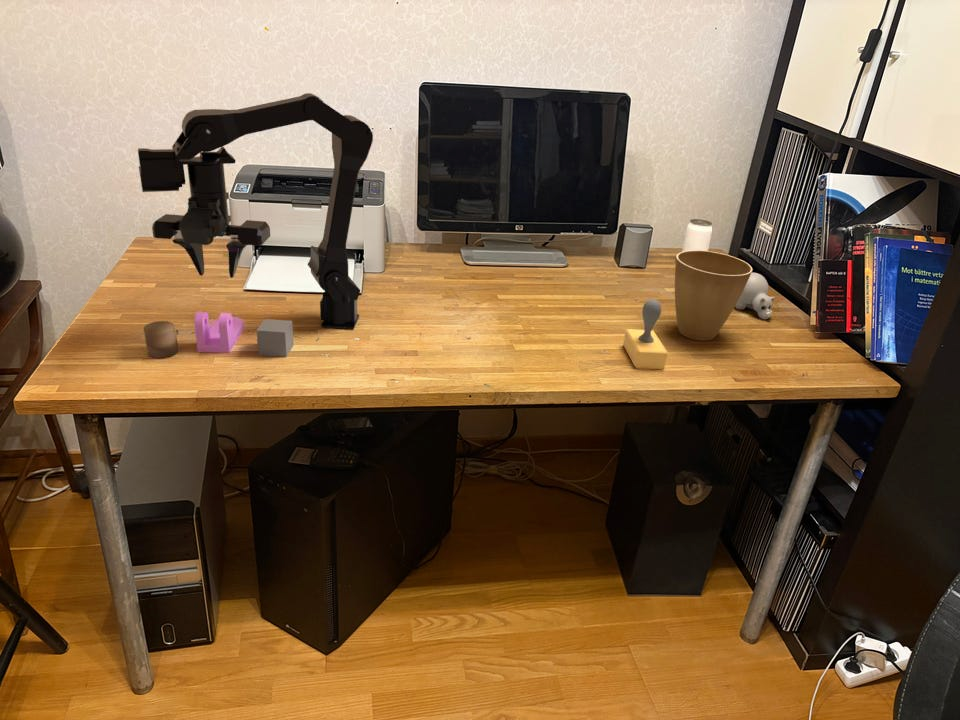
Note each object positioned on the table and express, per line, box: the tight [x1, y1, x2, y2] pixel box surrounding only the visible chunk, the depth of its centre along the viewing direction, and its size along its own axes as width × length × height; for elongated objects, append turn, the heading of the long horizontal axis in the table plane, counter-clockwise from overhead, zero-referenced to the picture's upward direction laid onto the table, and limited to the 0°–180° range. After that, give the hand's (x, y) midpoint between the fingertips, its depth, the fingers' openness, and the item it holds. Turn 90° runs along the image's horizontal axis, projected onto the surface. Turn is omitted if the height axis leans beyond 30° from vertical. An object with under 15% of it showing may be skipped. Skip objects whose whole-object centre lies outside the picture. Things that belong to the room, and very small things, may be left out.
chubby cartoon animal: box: [734, 272, 776, 320], centre depth 160 cm, size 7×12×8 cm, turn 18°
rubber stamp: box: [622, 299, 668, 370], centre depth 134 cm, size 10×6×12 cm, turn 3°
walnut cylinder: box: [143, 320, 179, 360], centre depth 124 cm, size 5×5×5 cm
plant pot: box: [674, 250, 753, 342], centre depth 145 cm, size 15×15×16 cm
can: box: [681, 218, 713, 252], centre depth 186 cm, size 6×6×12 cm
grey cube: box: [256, 318, 294, 358], centre depth 128 cm, size 5×5×5 cm
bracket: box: [193, 311, 245, 354], centre depth 131 cm, size 13×6×7 cm, turn 3°
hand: (217, 276), depth 127 cm, fingers open, 5 cm apart
